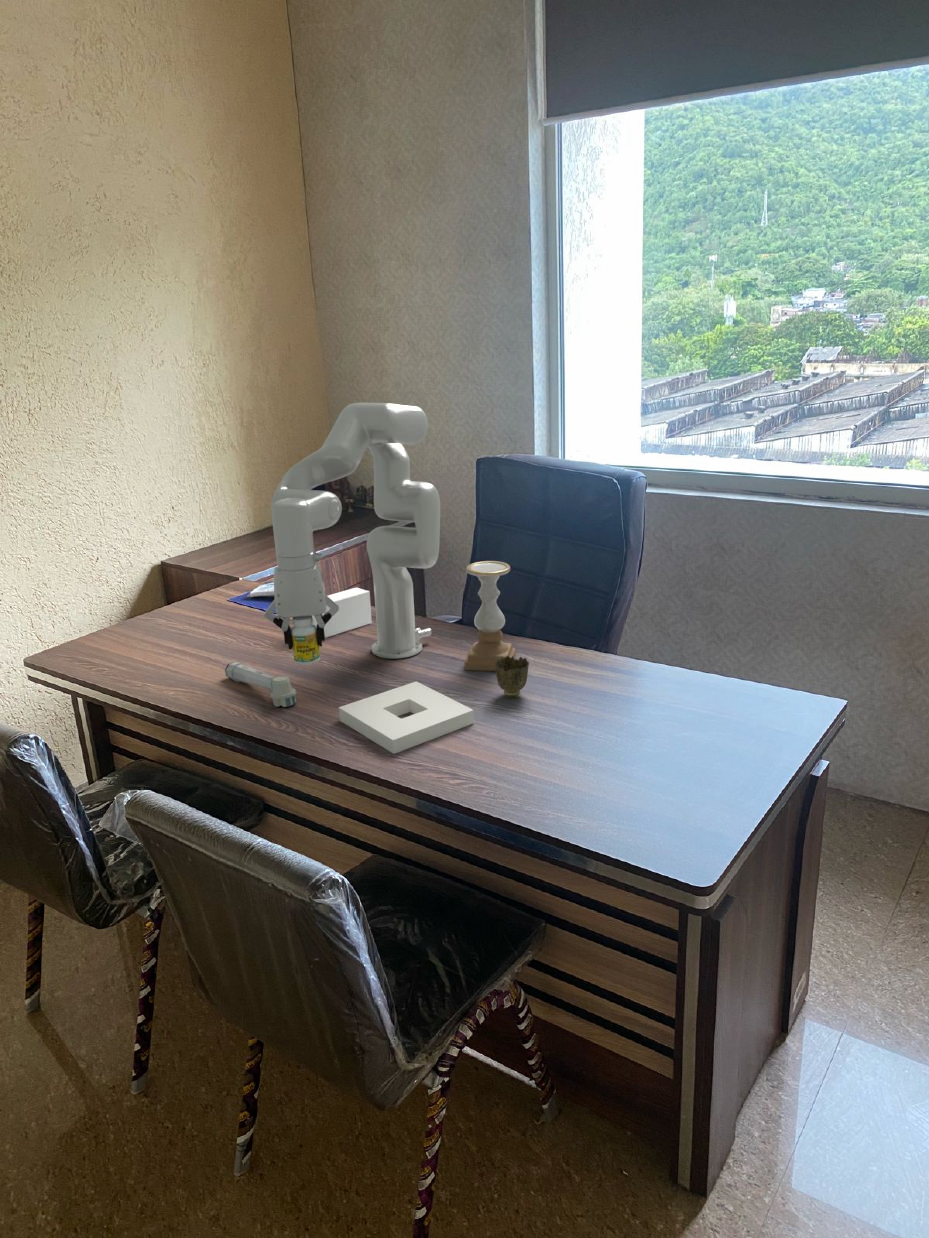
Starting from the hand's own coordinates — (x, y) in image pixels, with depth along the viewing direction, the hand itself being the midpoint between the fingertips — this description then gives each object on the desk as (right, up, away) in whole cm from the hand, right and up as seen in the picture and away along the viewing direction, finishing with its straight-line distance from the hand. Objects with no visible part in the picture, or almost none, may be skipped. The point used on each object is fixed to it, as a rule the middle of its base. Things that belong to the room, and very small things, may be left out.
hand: (305, 644), depth 188 cm
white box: (-2, +2, +55) cm, 56 cm away
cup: (+43, -12, +13) cm, 47 cm away
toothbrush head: (-13, -12, +20) cm, 26 cm away
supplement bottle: (0, -4, +1) cm, 4 cm away
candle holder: (+39, -5, +32) cm, 50 cm away
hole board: (+21, -16, +2) cm, 26 cm away
